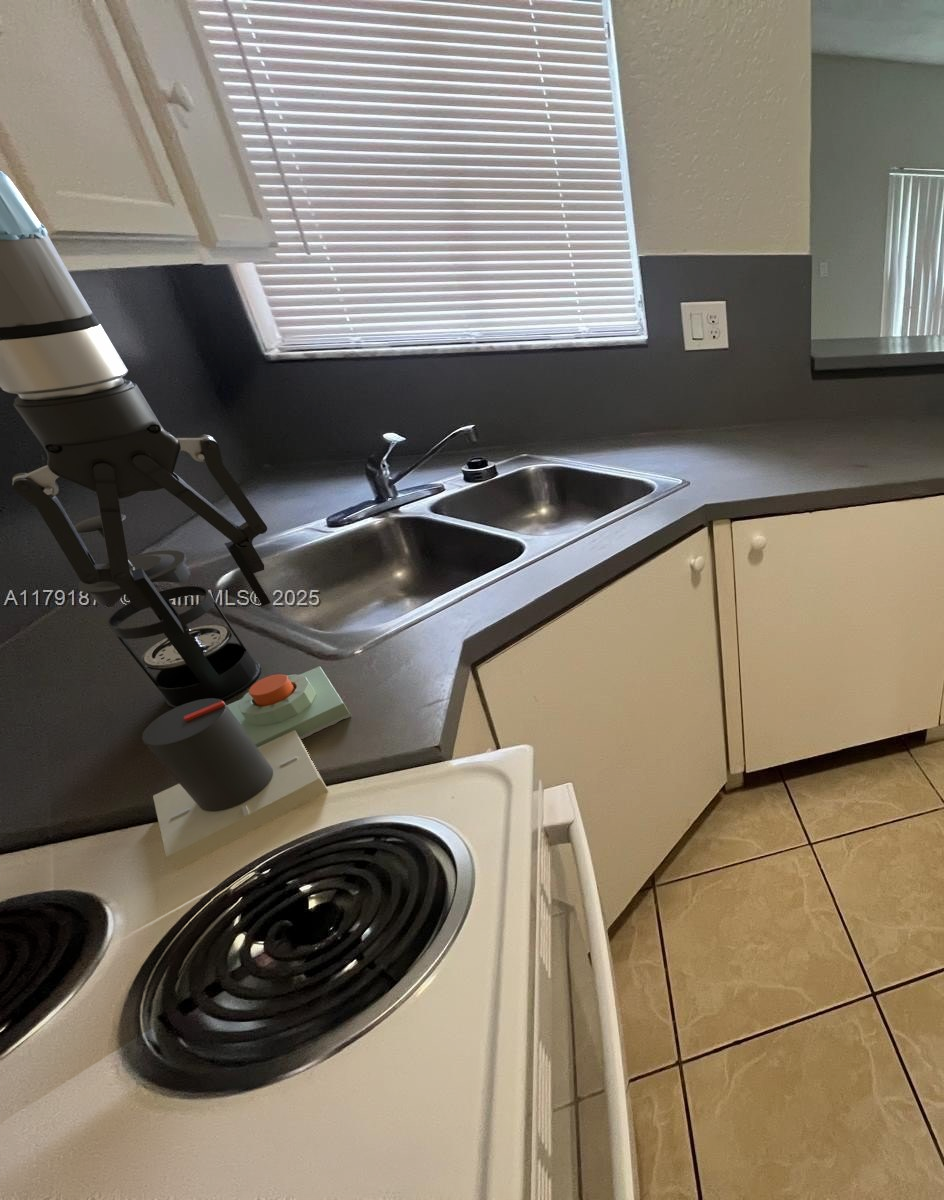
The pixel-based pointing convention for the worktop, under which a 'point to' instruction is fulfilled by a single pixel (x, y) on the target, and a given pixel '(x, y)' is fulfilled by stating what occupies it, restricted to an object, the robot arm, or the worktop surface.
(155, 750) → the oven knob
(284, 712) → the button box
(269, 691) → the button
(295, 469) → the worktop surface
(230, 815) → the panel
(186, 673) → the french press
